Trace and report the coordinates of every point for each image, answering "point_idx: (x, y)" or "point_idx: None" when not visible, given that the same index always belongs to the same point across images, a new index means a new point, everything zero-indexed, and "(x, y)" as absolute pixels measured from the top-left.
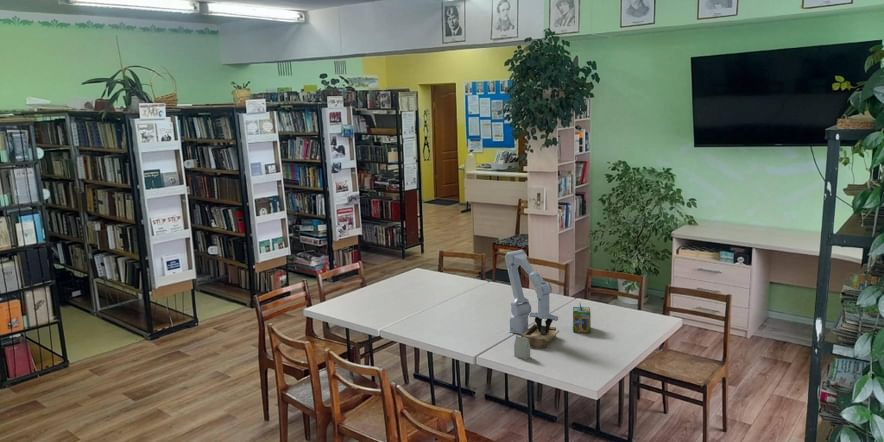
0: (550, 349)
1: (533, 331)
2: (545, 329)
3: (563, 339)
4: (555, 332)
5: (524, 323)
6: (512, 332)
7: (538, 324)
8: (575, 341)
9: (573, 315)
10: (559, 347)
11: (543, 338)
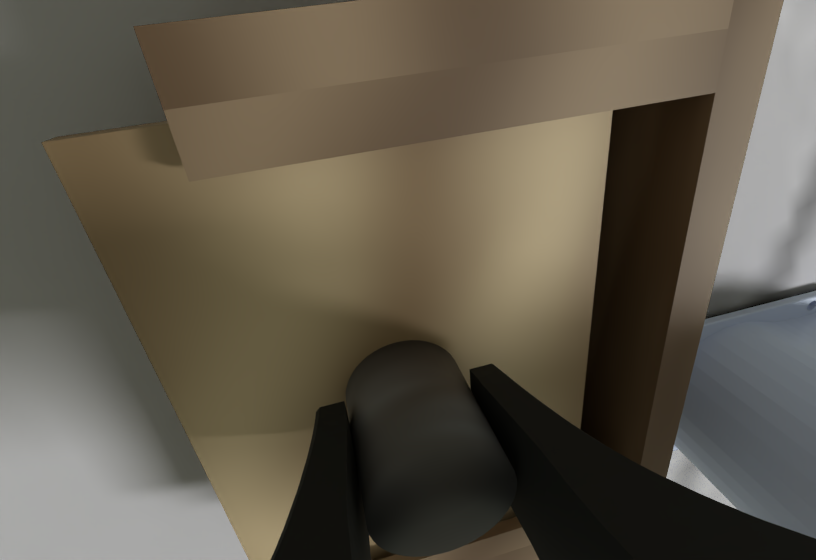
0: (76, 100)
1: (598, 404)
2: (369, 461)
3: (209, 499)
4: (269, 532)
5: (793, 450)
6: (800, 295)
7: (598, 489)
8: (38, 546)
9: None
10: (27, 275)
11: (200, 111)
